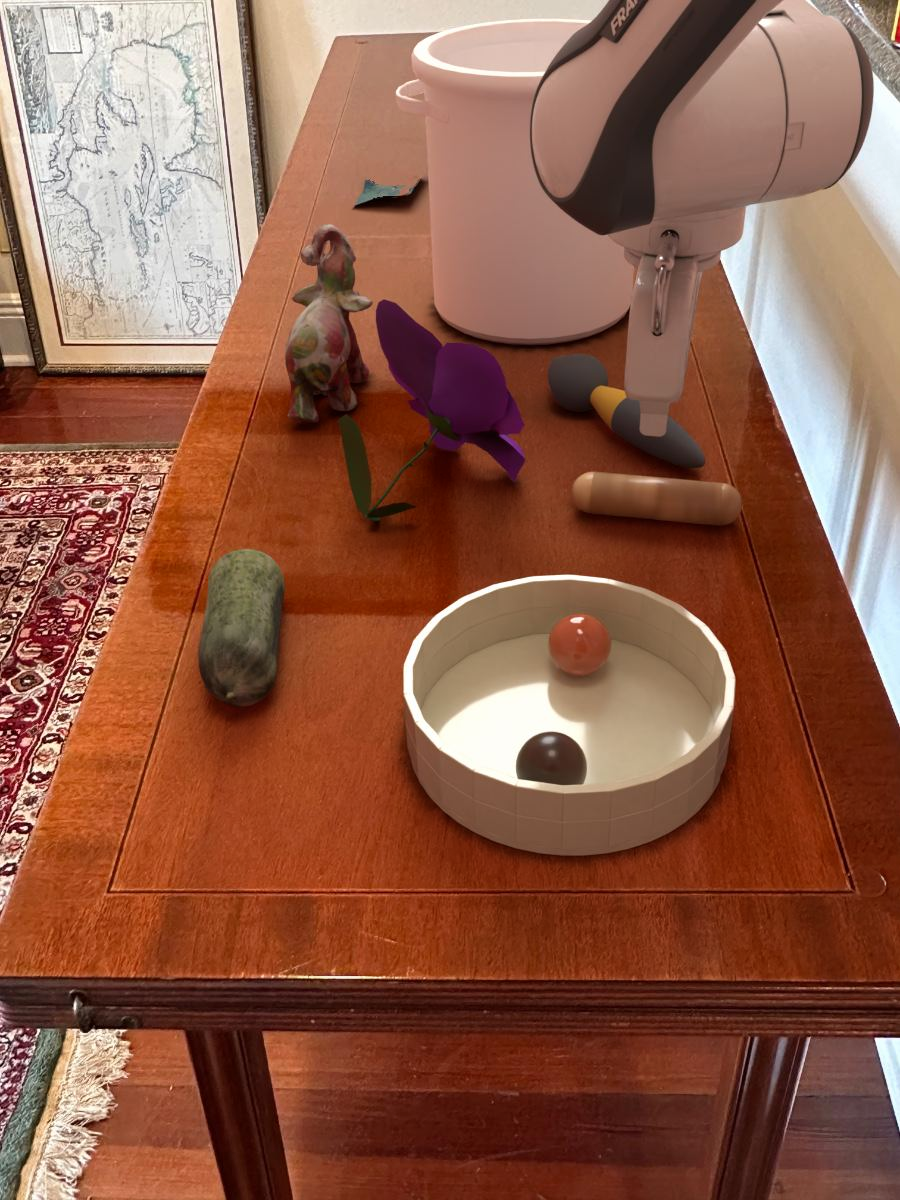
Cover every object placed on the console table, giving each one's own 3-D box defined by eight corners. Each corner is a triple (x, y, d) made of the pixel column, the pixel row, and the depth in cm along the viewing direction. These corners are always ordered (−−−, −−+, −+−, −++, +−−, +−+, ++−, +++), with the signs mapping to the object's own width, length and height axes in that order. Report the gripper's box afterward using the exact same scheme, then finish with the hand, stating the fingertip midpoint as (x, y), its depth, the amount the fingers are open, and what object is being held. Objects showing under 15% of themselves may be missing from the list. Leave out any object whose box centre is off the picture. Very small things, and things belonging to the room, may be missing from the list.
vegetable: (216, 595, 85) (205, 537, 82) (289, 590, 85) (281, 532, 82) (196, 729, 74) (183, 668, 71) (280, 723, 74) (270, 662, 71)
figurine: (398, 383, 110) (386, 223, 101) (317, 438, 103) (296, 271, 94) (333, 364, 114) (316, 208, 105) (250, 416, 106) (224, 253, 97)
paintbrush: (732, 461, 97) (738, 406, 94) (691, 483, 95) (697, 428, 92) (561, 382, 110) (561, 331, 106) (521, 400, 107) (521, 348, 104)
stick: (740, 512, 91) (745, 476, 89) (738, 536, 89) (743, 499, 87) (574, 497, 94) (575, 462, 92) (568, 519, 91) (569, 483, 89)
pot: (398, 355, 115) (379, 79, 100) (418, 266, 133) (404, 20, 118) (666, 353, 113) (688, 72, 98) (650, 263, 131) (666, 13, 116)
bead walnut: (590, 772, 69) (592, 721, 67) (580, 823, 66) (582, 772, 64) (522, 762, 70) (522, 712, 68) (509, 812, 67) (509, 762, 65)
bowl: (733, 653, 78) (741, 592, 75) (716, 881, 63) (726, 817, 60) (448, 620, 82) (445, 560, 79) (370, 827, 67) (363, 764, 64)
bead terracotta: (613, 652, 78) (616, 603, 75) (605, 693, 75) (608, 643, 72) (552, 645, 78) (553, 597, 76) (542, 685, 75) (543, 635, 73)
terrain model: (412, 208, 147) (410, 192, 146) (351, 209, 149) (349, 194, 148) (432, 175, 157) (431, 160, 156) (375, 176, 159) (373, 162, 158)
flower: (466, 600, 92) (567, 468, 95) (389, 491, 80) (507, 344, 83) (340, 530, 100) (436, 411, 103) (253, 422, 88) (364, 291, 91)
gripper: (717, 271, 68) (694, 478, 77) (732, 159, 84) (712, 341, 92) (607, 265, 69) (596, 469, 78) (642, 155, 85) (630, 335, 94)
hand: (659, 398), depth 85 cm, fingers open, 8 cm apart
